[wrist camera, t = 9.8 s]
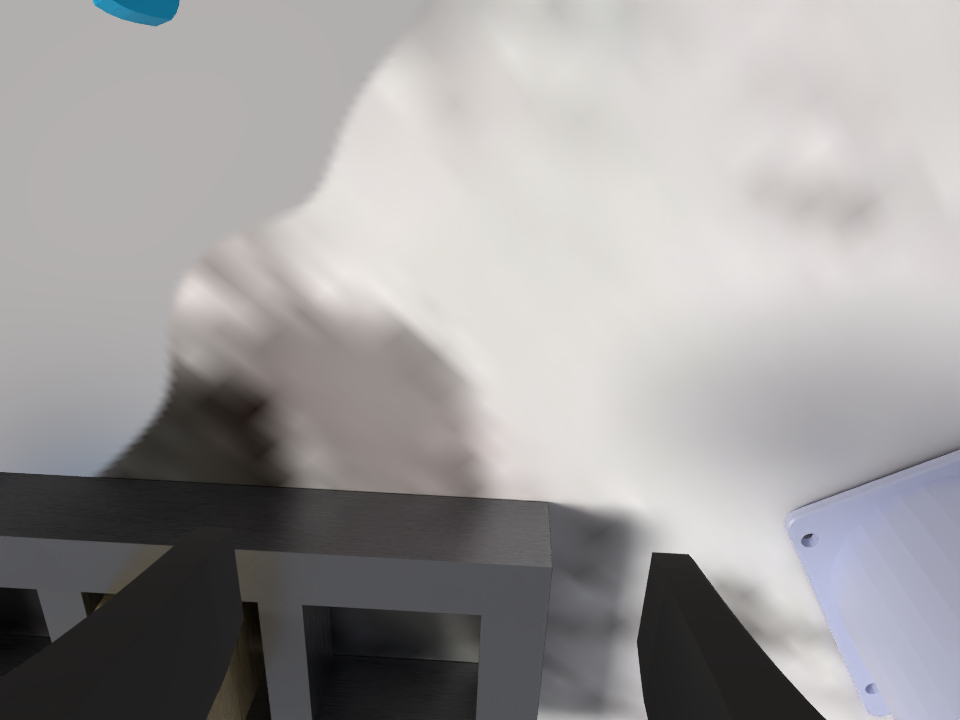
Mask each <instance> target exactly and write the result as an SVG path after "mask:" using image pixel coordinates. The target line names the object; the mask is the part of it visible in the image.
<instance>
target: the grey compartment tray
mask: <svg viewBox="0 0 960 720" xmlns="http://www.w3.org/2000/svg"><path fill="white" fill-rule="evenodd" d="M196 527H211V528H229V529H232V533H233V541H234V548H235V556H236V563H237V571H238V579H239V586H240V594H241V601H245V602H258V610H259V619H260V627H261V635H262V644H263V652H264V661H265V668H264V671H263V674H262V676H261V679H260V682H259V684H258V687H257V690H256V692H255V695H254V698H253V700H252V703H251V706H250V708H249V711H248V714H247V716H246V719H245V720H537V715H538V705H539V695H540V685H541V675H542V665H543V655H544V645H545V635H546V625H547V615H548V605H549V595H550V585H551V576H552V556H551V541H550V526H549V511H548V502H532V501H514V500H496V499H477V498H459V497H441V496H423V495H405V494H387V493H369V492H351V491H333V490H314V489H296V488H278V487H260V486H242V485H224V484H206V483H188V482H169V481H151V480H133V479H115V478H97V477H79V476H61V475H60V476H59V475H43V474H25V473H6V472H0V587H6V588H23V589H37V592H38V596H39V599H40V603H41V606H42V610H43V613H44V617H45V620H46V624H47V627H48V631H49V634H50V638H42V637H26V636H9V635H0V678H1V677H3V676H4V675H6V674H7V673H9V672H10V671H12V670H13V669H15V668H17V667H18V666H20V665H21V664H22V663H24V662H25V661H27V660H28V659H30V658H31V657H33V656H34V655H36V654H37V653H39V652H40V651H41V650H43V649H44V648H46V647H47V646H49V645H50V644H51V643H53V642H54V641H55V640H57V639H58V638H59V637H61V636H62V635H63V634H65V633H66V632H67V631H69V630H70V629H71V628H73V627H74V626H75V625H77V624H78V623H79V622H81V621H82V620H83V619H85V618H86V617H87V616H89V615H90V614H91V613H93V612H94V610H95V609H96V607H97V606H98V605H99V603H100V602H101V600H102V599H103V597H104V596H105V594H106V593H109V594H117V593H118V592H119V591H120V590H121V589H123V588H124V587H125V586H126V585H128V584H129V583H130V582H131V581H133V580H134V579H135V578H136V577H137V576H139V575H140V574H141V573H142V572H143V571H144V570H146V569H147V568H148V567H149V566H150V565H152V564H153V563H154V562H155V561H156V560H158V559H159V558H160V557H161V556H162V555H163V554H165V553H166V552H167V551H168V550H169V549H171V548H172V547H173V546H174V545H175V544H177V543H178V542H179V541H180V540H181V539H183V538H184V537H185V536H186V535H187V534H189V533H190V532H191V531H192V530H194V529H195V528H196ZM330 606H331V607H348V608H365V609H382V610H399V611H416V612H433V613H451V614H468V615H481V629H480V649H479V664H476V663H460V662H443V661H426V660H410V659H393V658H376V657H360V656H343V655H333V645H332V630H331V614H330Z"/></svg>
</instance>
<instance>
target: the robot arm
mask: <svg viewBox="0 0 960 720" xmlns="http://www.w3.org/2000/svg"><path fill="white" fill-rule="evenodd" d="M784 525H785V529H786V531H787V533H788V536H789V538H790V540H791V542H792V545H793V547H794V549H795V551H796V554H797V556H798V558H799V560H800V563H801V565H802V567H803V570H804V572H805V574H806V576H807V579H808V581H809V583H810V585H811V588H812V590H813V592H814V595H815V597H816V599H817V601H818V604H819V606H820V608H821V610H822V613H823V615H824V617H825V619H826V622H827V624H828V626H829V629H830V631H831V633H832V635H833V638H834V640H835V642H836V644H837V647H838V649H839V651H840V654H841V656H842V658H843V660H844V663H845V665H846V667H847V669H848V672H849V674H850V676H851V678H852V681H853V683H854V685H855V688H856V690H857V692H858V694H859V697H860V699H861V701H862V703H863V705H864V707H865V709H866V711H867V712H868V713H869V714H870V715H873V716H879V717H880V716H885V715H889V714H892V716H893V718H894V720H960V450H957V451H954V452H952V453H949V454H946V455H943V456H941V457H938V458H935V459H932V460H930V461H927V462H924V463H922V464H919V465H916V466H913V467H911V468H908V469H905V470H902V471H900V472H897V473H894V474H892V475H889V476H886V477H883V478H881V479H878V480H875V481H872V482H870V483H867V484H864V485H862V486H859V487H856V488H853V489H851V490H848V491H845V492H842V493H840V494H837V495H834V496H832V497H829V498H826V499H823V500H821V501H818V502H815V503H812V504H810V505H807V506H804V507H801V508H799V509H796V510H794V511H792V512H790V513H789V514H788V515H787V517H786V518H785V521H784ZM807 534H813V535H812V536H811V537H810V538H808V539H802V538H803V536H805V535H807ZM243 620H244V617H243V609H242V601H241V594H240V586H239V579H238V571H237V563H236V556H235V548H234V541H233V533H232V529H229V528H211V527H196V528H195V529H194V530H192V531H191V532H190V533H189V534H187V535H186V536H185V537H184V538H183V539H181V540H180V541H179V542H178V543H177V544H175V545H174V546H173V547H172V548H171V549H169V550H168V551H167V552H166V553H165V554H163V555H162V556H161V557H160V558H159V559H158V560H156V561H155V562H154V563H153V564H152V565H150V566H149V567H148V568H147V569H146V570H144V571H143V572H142V573H141V574H140V575H139V576H137V577H136V578H135V579H134V580H133V581H131V582H130V583H129V584H128V585H126V586H125V587H124V588H123V589H121V590H120V591H119V592H118V593H117V594H115V595H114V596H113V597H112V598H110V599H109V600H108V601H107V602H105V603H104V604H103V605H102V606H101V607H99V608H98V609H97V610H95V611H94V612H93V613H91V614H90V615H89V616H87V617H86V618H85V619H83V620H82V621H81V622H79V623H78V624H77V625H75V626H74V627H73V628H71V629H70V630H69V631H67V632H66V633H65V634H63V635H62V636H61V637H59V638H58V639H57V640H55V641H54V642H53V643H51V644H50V645H49V646H47V647H46V648H44V649H43V650H41V651H40V652H39V653H37V654H36V655H34V656H33V657H31V658H30V659H28V660H27V661H25V662H24V663H22V664H21V665H20V666H18V667H17V668H15V669H13V670H12V671H10V672H9V673H7V674H6V675H4V676H3V677H1V678H0V720H206V718H207V716H208V714H209V712H210V710H211V707H212V705H213V703H214V701H215V699H216V696H217V694H218V692H219V690H220V688H221V685H222V683H223V681H224V678H225V676H226V674H227V671H228V668H229V664H230V661H231V658H232V655H233V652H234V649H235V646H236V643H237V639H238V636H239V633H240V630H241V626H242V623H243ZM637 647H638V656H639V665H640V674H641V682H642V690H643V698H644V704H645V708H646V712H647V717H648V720H826V719H825V718H824V717H823V716H822V715H821V714H820V713H819V712H818V711H817V710H816V709H815V708H814V707H813V706H812V705H811V704H810V703H809V702H808V701H807V699H806V698H805V697H804V696H803V695H802V694H801V693H800V692H799V691H798V690H797V689H796V687H795V686H794V685H793V684H792V683H791V682H790V681H789V680H788V679H787V678H786V676H785V675H784V674H783V673H782V672H781V671H780V670H779V669H778V667H777V666H776V665H775V664H774V663H773V662H772V660H771V659H770V658H769V657H768V656H767V655H766V653H765V652H764V651H763V650H762V648H761V647H760V646H759V645H758V644H757V642H756V641H755V640H754V639H753V637H752V636H751V635H750V634H749V633H748V631H747V630H746V629H745V628H744V626H743V625H742V624H741V623H740V621H739V620H738V619H737V618H736V616H735V615H734V614H733V612H732V611H731V610H730V608H729V607H728V606H727V605H726V603H725V602H724V601H723V599H722V598H721V597H720V595H719V594H718V593H717V591H716V590H715V589H714V587H713V586H712V585H711V583H710V582H709V580H708V579H707V578H706V576H705V575H704V574H703V572H702V571H701V570H700V568H699V567H698V565H697V564H696V563H695V561H694V560H693V559H692V558H691V557H690V556H689V554H671V553H654V552H652V558H651V564H650V569H649V575H648V581H647V587H646V593H645V598H644V604H643V610H642V616H641V622H640V627H639V633H638V639H637ZM871 683H872V684H871Z"/></svg>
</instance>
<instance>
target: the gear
mask: <svg viewBox="0 0 960 720" xmlns="http://www.w3.org/2000/svg"><path fill="white" fill-rule="evenodd" d="M93 2H94V4H95V6H97V7H98V8H100V9H102V10H103V11H105V12H107V13H109V14H111V15H113V16H116V17H118V18H120V19H124V20H128V21H131V22H135V23H140V24H146V25H151V26H158V25H160V24H163V23H165V22H167V21H170V20H171V19H172V18H173V17H174V15H175V14H176V12H177V9H178V6H179V0H93Z"/></svg>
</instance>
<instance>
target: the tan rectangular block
mask: <svg viewBox="0 0 960 720" xmlns="http://www.w3.org/2000/svg"><path fill="white" fill-rule="evenodd" d="M114 595H115V594H109V593H106V594H105V596H104V597H103V599H102V600H101V602H100V603H99V605H98V606H97V607H96V609H95V610H97V609H98V608H99V607H101V606H102V605H103V604H104V603H105V602H107V601H108V600H109V599H110V598H112V597H113V596H114ZM242 609H243V617H244V620H243V623H242V626H241V630H240V633H239V636H238V639H237V643H236V646H235V649H234V652H233V655H232V658H231V661H230V664H229V668H228V671H227V674H226V676H225V678H224V681H223V683H222V685H221V688H220V690H219V692H218V694H217V696H216V699H215V701H214V703H213V705H212V707H211V710H210V712H209V714H208V716H207V718H206V720H245V719H246V716H247V714H248V711H249V708H250V706H251V703H252V700H253V698H254V695H255V692H256V690H257V687H258V684H259V682H260V679H261V676H262V674H263V671H264V668H265V661H264V652H263V644H262V635H261V627H260V619H259V610H258V602H245V601H242ZM95 610H94V611H95Z"/></svg>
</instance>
